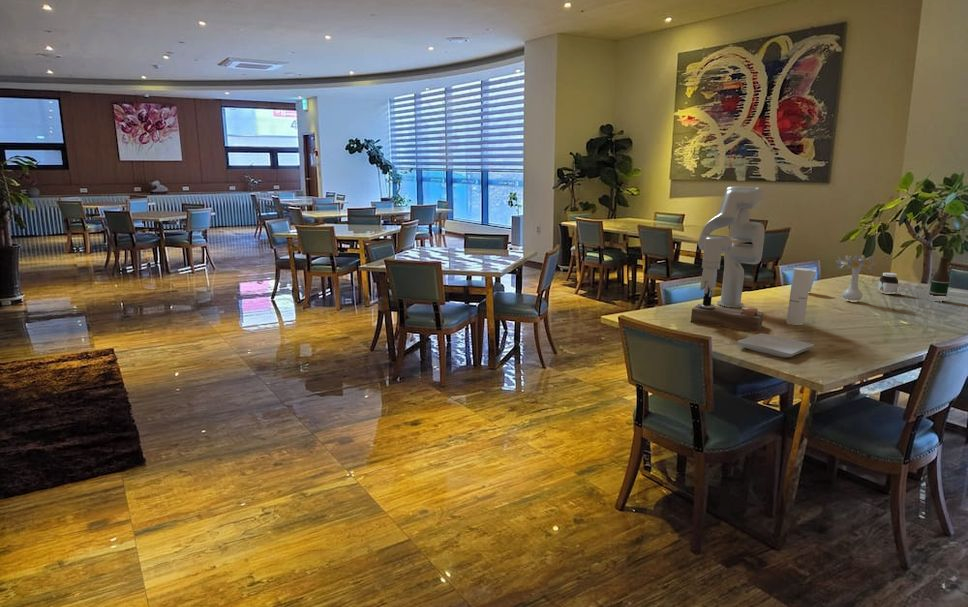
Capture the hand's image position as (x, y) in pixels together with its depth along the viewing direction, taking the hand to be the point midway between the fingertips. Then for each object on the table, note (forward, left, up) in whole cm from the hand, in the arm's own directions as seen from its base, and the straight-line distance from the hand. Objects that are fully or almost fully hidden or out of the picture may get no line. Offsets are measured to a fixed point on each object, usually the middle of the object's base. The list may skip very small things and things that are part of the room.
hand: (706, 304), depth 279 cm
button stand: (0, +9, -7) cm, 12 cm away
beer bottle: (-123, +94, -8) cm, 155 cm away
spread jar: (-129, +73, -8) cm, 149 cm away
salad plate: (+31, +33, -8) cm, 46 cm away
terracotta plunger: (0, +18, -5) cm, 19 cm away
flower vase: (-91, +54, -8) cm, 106 cm away
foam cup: (-102, +31, -8) cm, 107 cm away
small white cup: (0, 0, -6) cm, 6 cm away
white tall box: (-19, +35, -8) cm, 41 cm away
